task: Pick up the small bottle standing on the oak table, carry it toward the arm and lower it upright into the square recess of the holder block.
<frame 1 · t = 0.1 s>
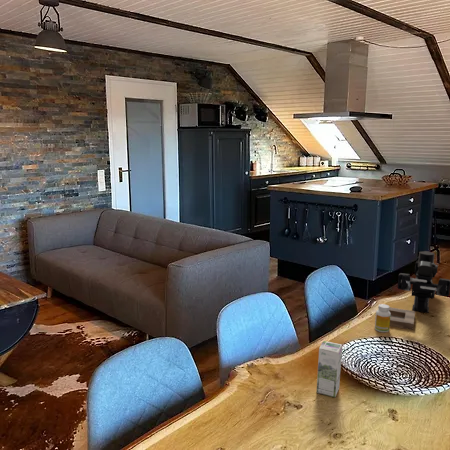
hand: (423, 291, 176), 17 cm above the table, tool horizontal, fingers open, 9 cm apart
holder block: (395, 320, 190), on the table
syrup box: (327, 391, 139), on the table
supplement bottle: (381, 330, 181), on the table
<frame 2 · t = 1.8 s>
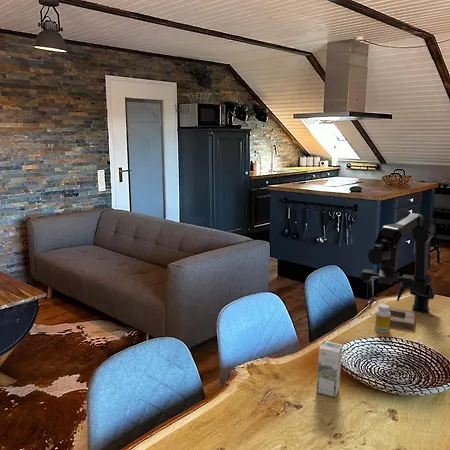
hand: (384, 299, 179), 12 cm above the table, tool pointing down, fingers open, 9 cm apart
nothing on the table moved.
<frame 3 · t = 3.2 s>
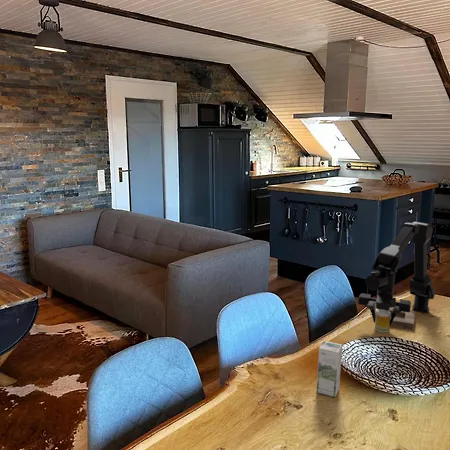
hand: (382, 323, 181), 3 cm above the table, tool pointing down, fingers closed on supplement bottle, 5 cm apart
supplement bottle: (381, 330, 181), on the table, touching gripper
everything else where it was.
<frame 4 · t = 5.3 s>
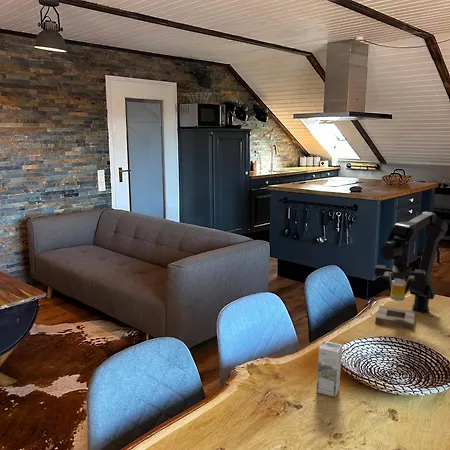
hand: (397, 293, 188), 12 cm above the table, tool pointing down, fingers closed on supplement bottle, 5 cm apart
supplement bottle: (397, 299, 188), point 9 cm above the table, touching gripper
everything else where it was.
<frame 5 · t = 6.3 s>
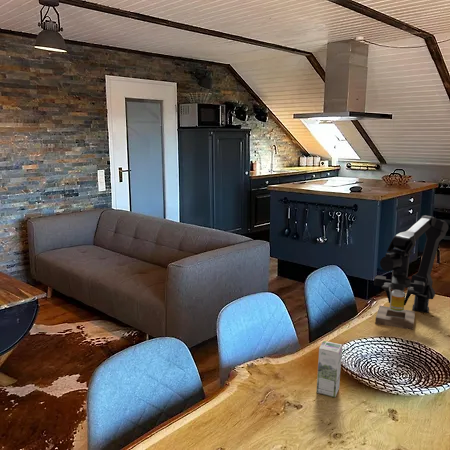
hand: (397, 303, 189), 7 cm above the table, tool pointing down, fingers closed on supplement bottle, 5 cm apart
supplement bottle: (396, 310, 190), point 4 cm above the table, touching gripper
everything else where it was.
when the fingers open (4 cm above the table, at t = 7.3 s): supplement bottle stays where it is, resting on holder block.
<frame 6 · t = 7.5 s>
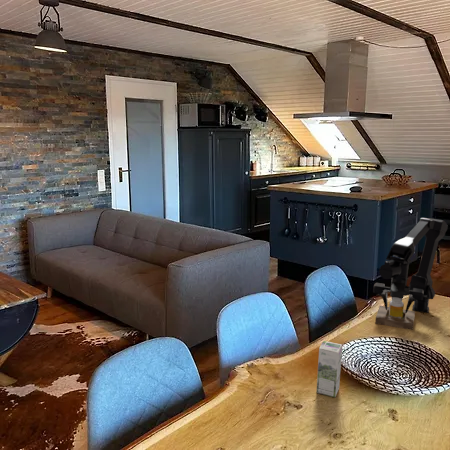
hand: (396, 311, 190), 4 cm above the table, tool pointing down, fingers open, 7 cm apart
supplement bottle: (395, 319, 190), resting on holder block
everything else where it was.
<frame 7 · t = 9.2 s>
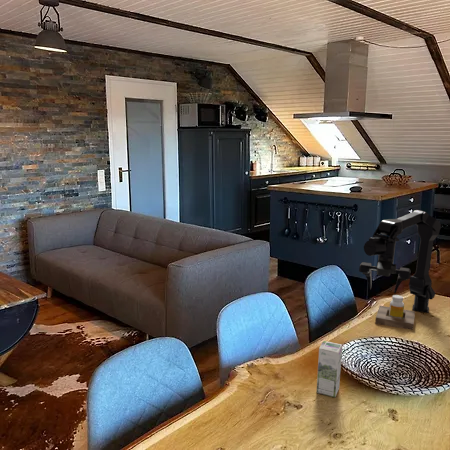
hand: (382, 291, 186), 13 cm above the table, tool pointing down, fingers open, 9 cm apart
nothing on the table moved.
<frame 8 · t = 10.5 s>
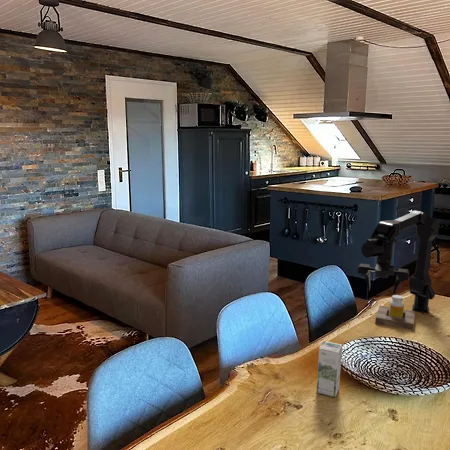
hand: (381, 292, 186), 12 cm above the table, tool pointing down, fingers open, 9 cm apart
nothing on the table moved.
at the end: supplement bottle 0.1 cm off-centre on the holder block, point 0.1 cm above the holder block's base; supplement bottle tilted 0° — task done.
